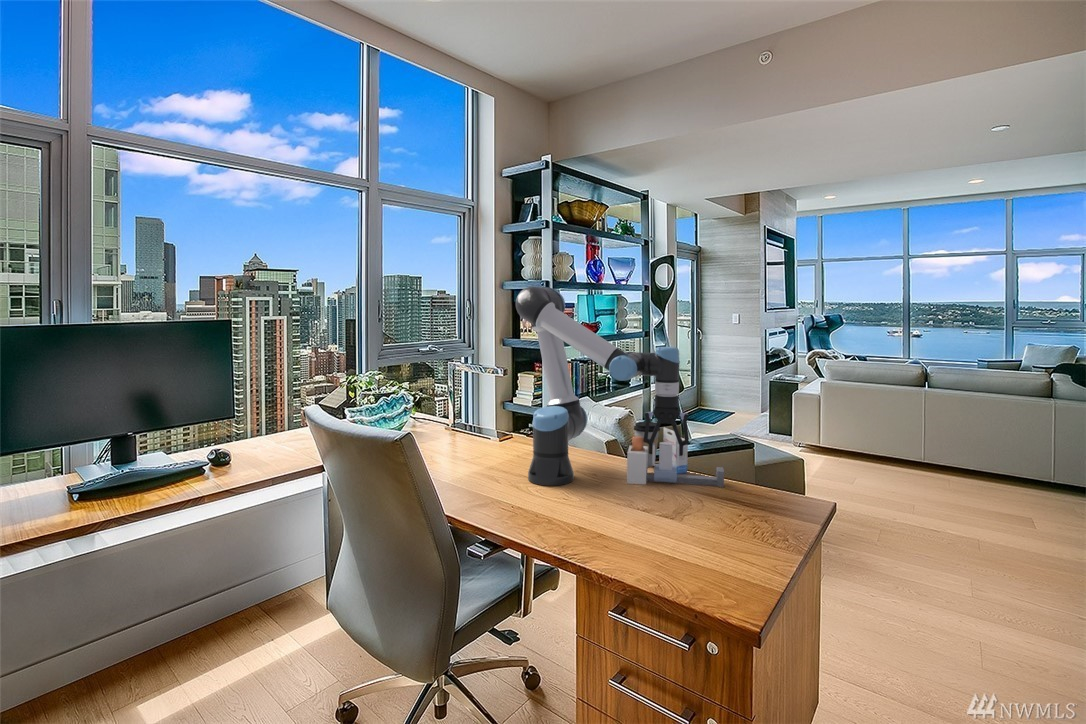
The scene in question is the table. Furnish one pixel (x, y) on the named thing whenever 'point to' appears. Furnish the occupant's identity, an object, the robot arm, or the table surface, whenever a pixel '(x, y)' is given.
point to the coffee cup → (640, 432)
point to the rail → (696, 479)
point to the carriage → (665, 464)
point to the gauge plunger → (637, 443)
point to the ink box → (682, 459)
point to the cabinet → (637, 465)
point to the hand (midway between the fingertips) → (665, 464)
